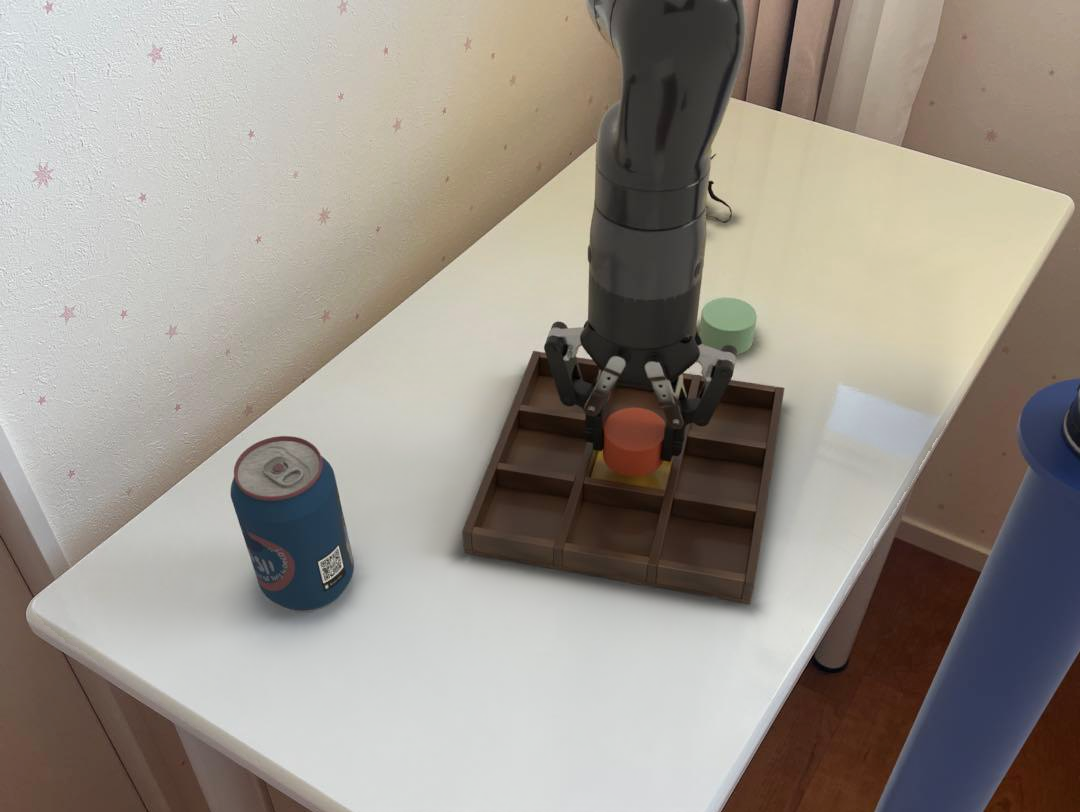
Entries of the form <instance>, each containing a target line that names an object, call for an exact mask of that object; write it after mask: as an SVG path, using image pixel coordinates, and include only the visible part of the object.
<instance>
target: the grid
mask: <svg viewBox="0 0 1080 812" xmlns="http://www.w3.org/2000/svg"><path fill="white" fill-rule="evenodd" d="M576 358H577V361H578V364H579V368H580V371H581V375H582V378H583V381H584V382H587V383H589V384H591V385H592V383H593V381H594V379H595V377H596V375H597V373H598V371H599V367H598V366H597V365H596V363H595V362H594V361H593V360H592V358H585V357H577V356H576ZM682 374H683V384H684V388H685V391H686V394H687V397H688V399H690V398H698V395H699V393H700V391H701V389H702V387H703V385H704V383H705V378H704V377H703V376H702V374H701V375H700V374H694V373H686V372H684V373H682ZM784 394H785V388H784V387H781V386H775V385H769V384H763V383H762V384H761V383H754V382H748V381H742V380H734V379H731V380H730V382H729V384H728V386H727V388H726V390H725V392H724V394H723V396H722V398H721V400H720V402H719V404H718V406H717V408H716V410H715V411H714V413H713V415H712V417H711V419H710V421H709V423H708V424H707V425H706V426H698V425H696V424H694V423H690V424H688V425H686V429H685V438H684V443H683V447H682V452H681V453H680V455H679V456H672V460H671V462H668V461H663V463H662V465H661V466H660V467H659V468H658V469H657V470H656V471H654V472H652V473H650V474H648V475H644V476H637V477H632V476H625V475H622V474H619V473H616V472H615V471H613V470H612V469H610V468H609V467H608V466H607V464H606V463H605V461H604V459H603V449H602V451H598V450H593V443H589V442H587V440H586V438H585V418H586V414H585V412H584V409H583V408H581V407H580V406H578V405H574V406H565V405H564V404H562V402H561V400H560V397H559V394H558V391H557V388H556V385H555V382H554V378H553V375H552V372H551V369H550V366H549V363H548V360H547V356H546V353H545V351H543V352H542V351H538V350H533V351H532V353H531V356H530V358H529V360H528V364H527V365H526V368H525V371H524V374H523V376H522V378H521V381H520V383H519V386H518V388H517V391H516V393H515V396H514V399H513V401H512V403H511V406H510V409H509V412H508V414H507V416H506V418H505V421H504V424H503V427H502V429H501V432H500V434H499V437H498V439H497V442H496V444H495V446H494V449H493V452H492V454H491V457H490V460H489V462H488V465H487V467H486V470H485V473H484V475H483V478H482V480H481V482H480V485H479V487H478V490H477V492H476V495H475V499H474V501H473V502H472V505H471V508H470V511H469V513H468V516H467V518H466V521H465V523H464V526H463V529H462V530H461V531H462V532H461V533H462V534H461V535H462V544H463V553H465V554H469V555H476V556H480V557H481V556H482V557H486V558H492V559H498V560H503V561H509V562H513V563H520V564H526V565H531V566H537V567H543V568H548V569H554V570H558V571H565V572H570V573H574V574H575V573H576V574H581V575H586V576H592V577H597V578H603V579H609V580H615V581H620V582H625V583H631V584H637V585H642V586H649V587H654V588H657V589H658V588H659V589H665V590H670V591H676V592H681V593H686V594H691V595H697V596H702V597H703V596H704V597H709V598H713V599H714V598H715V599H719V600H724V601H730V602H736V603H743V604H747V605H751V603H752V597H753V593H754V589H755V583H756V577H757V570H758V563H759V557H760V550H761V546H762V545H761V544H762V537H763V532H764V526H765V518H766V512H767V505H768V499H769V494H770V493H769V491H770V487H771V479H772V472H773V465H774V458H775V452H776V446H777V440H778V435H779V433H778V432H779V426H780V421H781V414H782V407H783V401H784ZM626 408H642V409H647V410H650V411H652V412H654V413H656V414H657V415H659V416H660V417H661V418H662V419H663V421H664V422H665V424H666V421H667V420H666V417H665V414H664V411H663V408H662V407H661V408H660V407H659V404H658V402H657V399H656V396H655V393H654V391H649V390H645V389H642V388H639V387H636V386H631V387H622V386H616V385H615V386H614V388H613V389H612V391H611V393H610V395H609V397H608V417H609V416H610V415H611V414H613V413H614V412H616V411H619V410H622V409H626Z"/></svg>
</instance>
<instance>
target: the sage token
mask: <svg viewBox="0 0 1080 812" xmlns="http://www.w3.org/2000/svg"><path fill="white" fill-rule="evenodd" d="M757 317H758V315H757V311H756V310H755V308H754V307H753V306H752V305H751V304H750V303H748V302H747V301H745V300H742V299H739V298H735V297H717V298H715V299H711V300H710V301H708V302H707V303H706V304H705V305H703V307H702V310H701V315H700V324H699V331H698V334H699V336H700V338H701V340H702V344H703V345H706V346H709V347H712V348H715V349H717V350H721V348H722V347H723V346H725V345H731V346H734V347H735V348H736V349H737V356H738V355H741V354H743V353H746V352H747V351H748V350H749V349H750V348H751V347H752V345H753V341H754V336H755V330H756V325H757V319H758V318H757Z"/></svg>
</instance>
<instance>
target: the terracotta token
mask: <svg viewBox="0 0 1080 812" xmlns="http://www.w3.org/2000/svg"><path fill="white" fill-rule="evenodd" d="M665 425H666V424H665V422H664V421H663V419H662V418H661V417H660V416H659V415H657V414H656V413H654V412H652V411H650V410H647V409H642V408H626V409H622V410H619V411H616V412H614V413H613V414H611V415H610V416H609V417H608V418H607V420H606V422H605V426H604V432H603V459H604V461H605V463H606V464H607V466H608V467H609V468H610V469H612V470H613V471H615V472H616V473H619V474H622V475H625V476H632V477H637V476H644V475H648V474H650V473H652V472H654V471H656V470H657V469H658V468H659V467H660V466H661V465H662V463H663V461H662V452H663V442H664V431H665Z"/></svg>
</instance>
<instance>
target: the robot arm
mask: <svg viewBox="0 0 1080 812" xmlns="http://www.w3.org/2000/svg"><path fill="white" fill-rule="evenodd" d="M585 5H586V10H587V12H588V13H587V14H588V15H589V18H590V20H591V23H592V24H593V26H594V28H595V29H596V31H597V32H598V33H599V34H600V36H601V37H602V38H603V40H604V41H605V42H606V44H607V45H608V46H609V47H610V49H611V50H612V51H613V53H614V55H615V56H616V57H617V58H618V59H619V63H620V73H621V91H620V98H619V99H620V100H618V101H616V102H615V103H613V104H612V105H611V106H610V108H608V110H606V111H605V113H604V115H603V117H602V119H601V120H600V123H599V127H598V131H597V136H596V145H595V175H594V198H593V199H594V200H593V210H592V215H591V219H590V220H591V221H590V228H589V244H588V245H587V263H588V296H587V298H588V299H587V320H586V321H585V322H584V324H583V326H581V327H568V325H567V324H566V323H565V322H562V321H555V322H553V323H552V324H551V327H550V330H549V331H548V334H547V337H546V339H545V340H546V341H545V343H544V345H543V349H544V350H543V351H544V353H546V356H547V360H548V363H549V366H550V369H551V372H552V375H553V378H554V382H555V385H556V388H557V391H558V394H559V397H560V400H561V402H562V404H564V405H565V406H574V405H578V406H580V407H581V408H583V409H584V412H585V414H586V418H585V438H586V440H587V442H589V443H593V450H598V451H602V449H603V432H604V426H605V422H606V420H607V418H608V397H609V395H610V393H611V391H612V389H613V388H614V386H615V385H616V386H622V387H631V386H636V387H639V388H642V389H645V390H649V391H654V393H655V396H656V399H657V402H658V404H659V407H660V408H661V407H662V408H663V411H664V414H665V417H666V420H667V421H666V425H665V431H664V442H663V452H662V461H668V462H671V460H672V456H679V455H680V453H681V452H682V447H683V443H684V438H685V429H686V425H688V424H690V423H694V424H696V425H698V426H706V425H707V424H708V423H709V421H710V419H711V417H712V415H713V413H714V411H715V410H716V408H717V406H718V404H719V402H720V400H721V398H722V396H723V394H724V392H725V390H726V388H727V386H728V384H729V382H730V380H732V377H733V376H734V372H735V368H736V367H735V366H736V361H737V356H738V355H737V349H736V348H735V347H734V346H731V345H725V346H723V347H722V348H721V350H717V349H715V348H712V347H709V346H706V345H703V344H702V340H701V338H700V336H699V331H698V328H697V325H698V324H697V323H698V316H699V307H700V300H701V299H700V298H701V290H702V281H703V272H704V265H705V264H704V263H705V254H706V245H707V216H706V215H707V201H708V194H709V192H708V184H709V181H710V174H711V165H712V160H711V157H712V146H713V143H714V140H715V138H716V137H717V134H718V132H719V129H720V127H721V125H722V123H723V120H724V117H725V114H726V112H727V109H728V106H729V103H730V100H731V97H732V94H733V91H734V90H735V85H736V83H737V80H738V77H739V74H740V72H741V67H742V64H743V59H744V56H745V50H746V49H745V48H746V38H747V18H746V16H747V15H746V8H745V1H744V0H585ZM580 347H582V348H583V350H584V351H585V352H586V353H587V354H588V356H589V357H590V359H592V360H593V361H594V362H595V363H596V365H597V366H598V367H599V371H598V373H597V375H596V377H595V379H594V381H593V383H592V385H591V384H589V383H587V382H584V381H583V378H582V375H581V371H580V368H579V364H578V361H577V358H576V357H577V355H578V352H579V349H580ZM696 363H698V364H699V365H700V366H701V376H703V377H704V378H705V383H704V385H703V387H702V389H701V391H700V393H699V395H698V398H690V399H688V397H687V394H686V391H685V388H684V384H683V374H682V373H686V372H687V370H689V369H690V368H691V367H692V366H693V365H695V364H696ZM1077 391H1078V392H1077V395H1076V397H1075V399H1074V400H1073V402H1072V404H1071V406H1070V409H1069V410H1068V411H1067V413H1066V415H1065V418H1064V420H1063V422H1062V436H1063V439H1064V441H1065V443H1066V444H1067V446H1068V447H1069V449H1070V450H1071V451H1072V452H1073V453H1074V454H1075V455H1076V456H1077V457H1078V458H1079V459H1080V384H1079V386H1078V389H1077Z"/></svg>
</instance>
